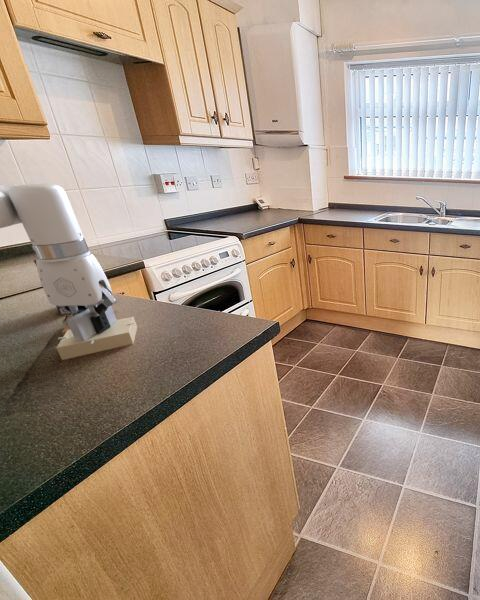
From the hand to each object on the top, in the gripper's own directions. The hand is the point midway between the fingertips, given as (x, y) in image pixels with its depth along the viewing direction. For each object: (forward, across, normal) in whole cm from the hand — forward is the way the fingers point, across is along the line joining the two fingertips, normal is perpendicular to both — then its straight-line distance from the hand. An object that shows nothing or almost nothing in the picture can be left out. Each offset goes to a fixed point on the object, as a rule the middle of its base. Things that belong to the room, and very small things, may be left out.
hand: (97, 330), depth 74 cm
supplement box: (+3, -20, +17) cm, 27 cm away
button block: (+3, -9, +7) cm, 12 cm away
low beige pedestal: (+3, 0, 0) cm, 3 cm away
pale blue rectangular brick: (0, 0, 0) cm, 0 cm away
